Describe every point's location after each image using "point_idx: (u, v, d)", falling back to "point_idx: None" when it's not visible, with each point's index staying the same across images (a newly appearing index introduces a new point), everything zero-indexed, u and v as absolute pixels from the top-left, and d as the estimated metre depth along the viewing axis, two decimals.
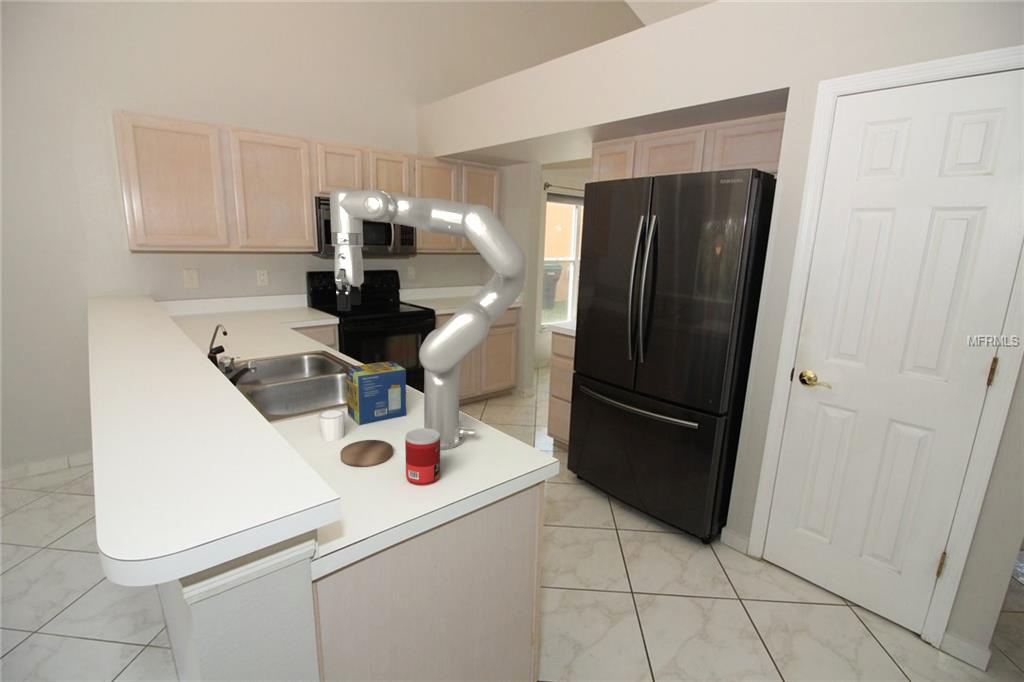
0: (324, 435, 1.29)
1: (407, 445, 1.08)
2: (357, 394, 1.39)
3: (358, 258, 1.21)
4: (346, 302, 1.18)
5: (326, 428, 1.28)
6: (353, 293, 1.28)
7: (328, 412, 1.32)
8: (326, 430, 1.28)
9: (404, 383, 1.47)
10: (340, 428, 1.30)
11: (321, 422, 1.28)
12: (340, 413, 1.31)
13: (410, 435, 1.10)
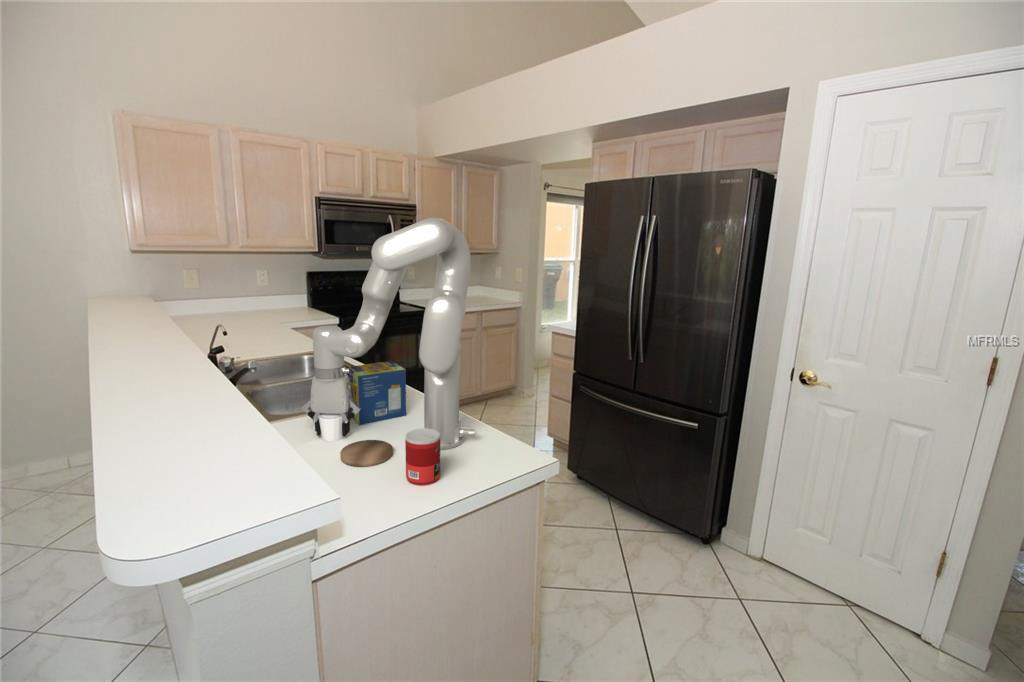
0: (324, 435, 1.29)
1: (407, 445, 1.08)
2: (357, 394, 1.39)
3: None
4: None
5: (326, 428, 1.28)
6: None
7: None
8: (326, 430, 1.28)
9: (404, 383, 1.47)
10: (340, 428, 1.30)
11: (321, 422, 1.28)
12: None
13: (410, 435, 1.10)
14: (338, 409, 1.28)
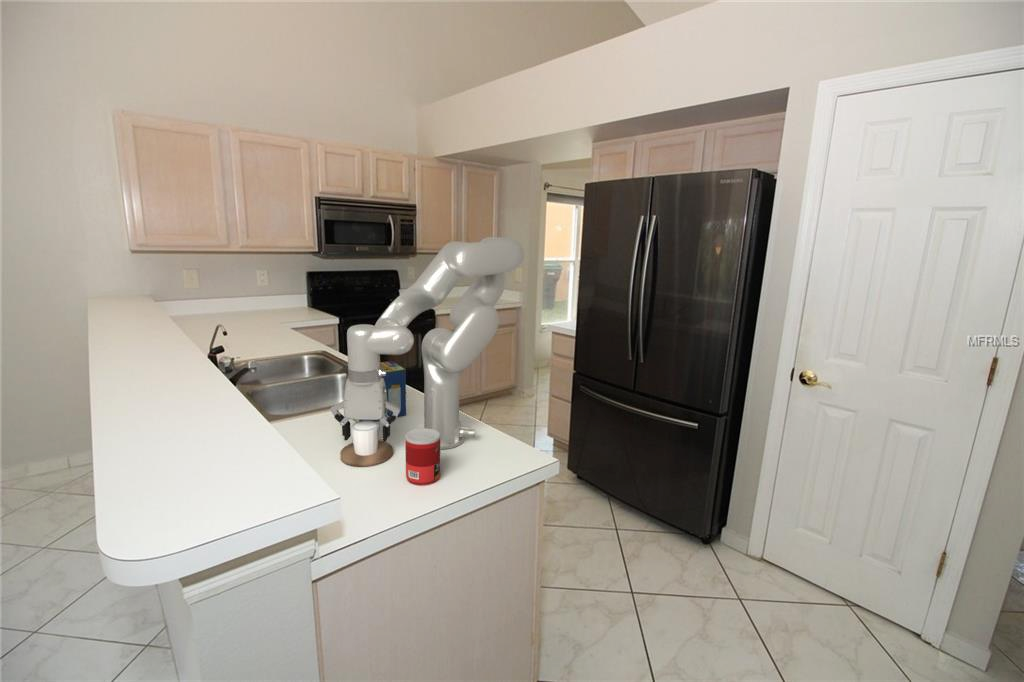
0: (357, 448, 1.20)
1: (407, 445, 1.08)
2: None
3: None
4: None
5: (359, 440, 1.19)
6: (348, 427, 1.21)
7: (361, 423, 1.22)
8: (360, 443, 1.19)
9: (404, 383, 1.47)
10: (374, 440, 1.21)
11: (354, 434, 1.19)
12: (374, 424, 1.22)
13: (410, 435, 1.10)
14: (373, 414, 1.18)
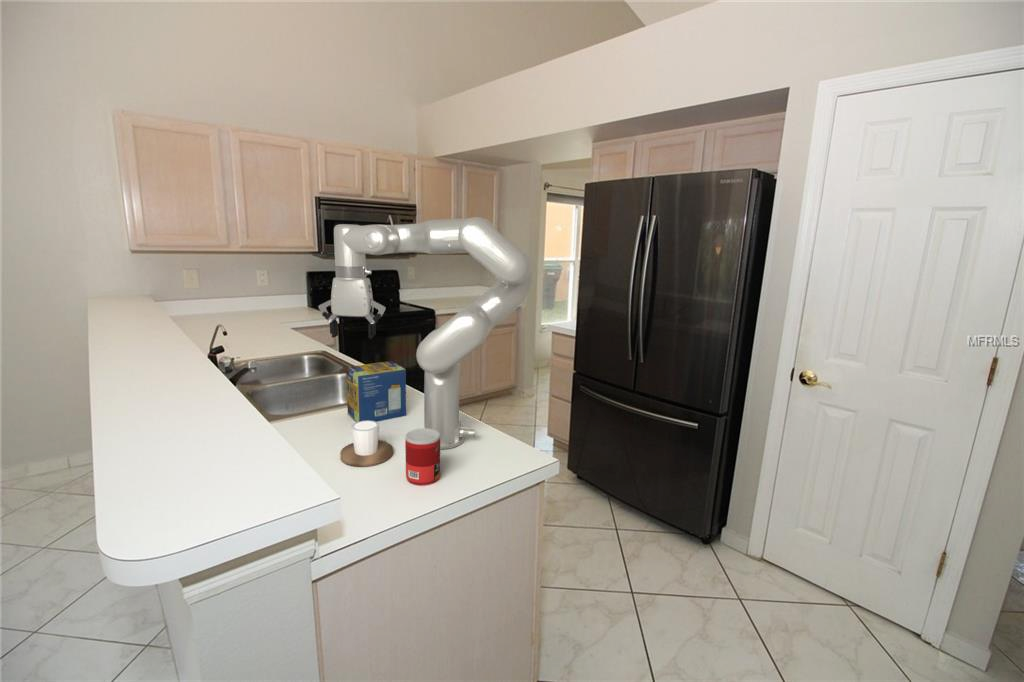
0: (357, 448, 1.20)
1: (407, 445, 1.08)
2: (357, 394, 1.39)
3: None
4: None
5: (359, 440, 1.19)
6: (335, 325, 1.27)
7: (361, 423, 1.22)
8: (360, 443, 1.19)
9: (404, 383, 1.47)
10: (374, 440, 1.21)
11: (354, 434, 1.19)
12: (374, 424, 1.22)
13: (410, 435, 1.10)
14: (359, 311, 1.24)
